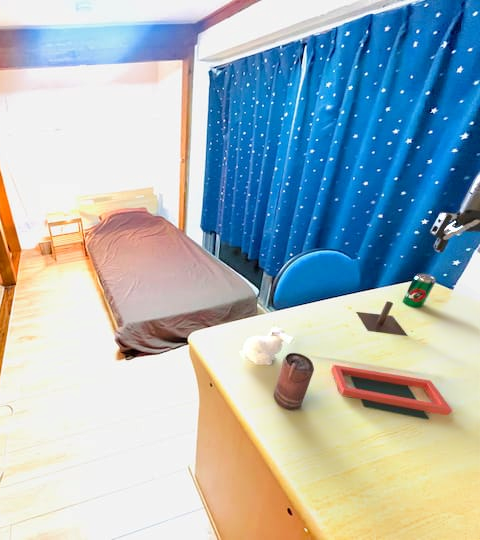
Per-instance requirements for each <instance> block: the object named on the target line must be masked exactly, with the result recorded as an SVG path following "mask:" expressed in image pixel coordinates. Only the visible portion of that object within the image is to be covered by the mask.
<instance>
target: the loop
mask: <svg viewBox="0 0 480 540" xmlns="http://www.w3.org/2000/svg"><path fill="white" fill-rule="evenodd" d="M331 372H332V374H333V377H334V380H335V382H336V385H337V388H338V390H339V392H340V394H341V396H343V397H349V398H353V399H359V400H361V399H364V400H369V401H375V402H380V403H385V404H390V405H395V406H401V407H406V408H411V409H416V410H421V411H424V412H428V413H432V414H436V415H437V414H438V415H442V416H443V415H444V416H449V415H450V414H451V413H452V412H453V409H452V408H451V406H450V405H449V403H448V402H447V401H446V399H445V398H444V397H443V395H442V394H441V392H440V391H439V389H437V387H436V386H435V385H434V383H433V381H432V380H430V379H425V378H418V377H412V376H405V375H401V374H395V373H394V374H393V373H387V372H382V371H381V372H380V371H376V370H368V369H364V368H356V367H350V366H346V365H345V366H344V365H339V364H332V367H331ZM344 376H349V377H350V376H354V377H360V378H365V379H371V380H377V381H383V382H389V383H394V384H400V385H406V386H408V387H413V388H419V389H423V390H424V391H425V393H426V394H427V396H428V397H429V399H430V401H432V402H430V401H426V400H425V401H424V400H420V399H417V400H415V399H409V398H404V397H398V396H393V395H387V394H382V393H376V392H371V391H365V390H360V389H356V388H354V387H349V386H348V384H347V382H346V379H345V377H344Z"/></svg>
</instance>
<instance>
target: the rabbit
mask: <svg viewBox="0 0 480 540" xmlns="http://www.w3.org/2000/svg"><path fill="white" fill-rule="evenodd" d="M293 340H294V337H292V336H289V335H287V334H285V332H284V330H283V329H282V328H280V327H272V328H271V329H270V331H269V333H268V335H266V336H261V335H254V336H252V337H249V338H248V339H247V340H246V341H245V342H244V345H243V350H242V349H241V350H240V351H239V353H240V354H239V355H240V357H241V358H242V359H243V360H245V361H248V362H249V361H250V362H252V363H253V364H254V365H256V366H257V365H258V366H259V365H260V366H261V365H263V366H265V365H267V366H271V365H272V364H273V361H274V360H275V359H276V355H277V354H279V353H280V352H281V350H282V347H283V342H285V343H287V344H288V345H290V344H291V343H292V341H293Z"/></svg>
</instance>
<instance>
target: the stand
mask: <svg viewBox="0 0 480 540" xmlns="http://www.w3.org/2000/svg"><path fill="white" fill-rule="evenodd" d="M393 305H394V303H393V302H392V301H386V302H385V304H384V306H383V308H382V311H381V312H380V313H371V312H363V311H362V312H361V311H355V313H356V315H357V316H358V318H359V320H360V321H361V323H362V325H363V326H364V328H365V329H366V331H367V332H373V333H380V334H388V335H397V336H404V337H409V336H408V334H407V332H405V330H404V328H402V326H401V325H400V323H399V322H398V321H397V320H396V318H395V317H394V316H393V315H390V311H391V310H392V307H393Z"/></svg>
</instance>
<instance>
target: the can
mask: <svg viewBox="0 0 480 540" xmlns="http://www.w3.org/2000/svg"><path fill="white" fill-rule="evenodd" d="M280 366H281V367H280V370H279V373H278V377H277V380H276V384H275V387H274V391H273V398H274V400H275V402H276V404H277V405H279V407H281V408H282V409H284V410H288V411H291V412H292V411H297V410H299V409H301V407H302V404H303V402H304V400H305V396H306V393H307V391H308V388H309V385H310V382H311V380H312V377H313V374H314V370H315V367H314V363H313V362H312V360H311V359H310V358H309V357H307V356H306V355H304V354H302V353H297V352H290V353H288V354H286V356H284V357H283V359H282V362H281V365H280Z"/></svg>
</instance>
